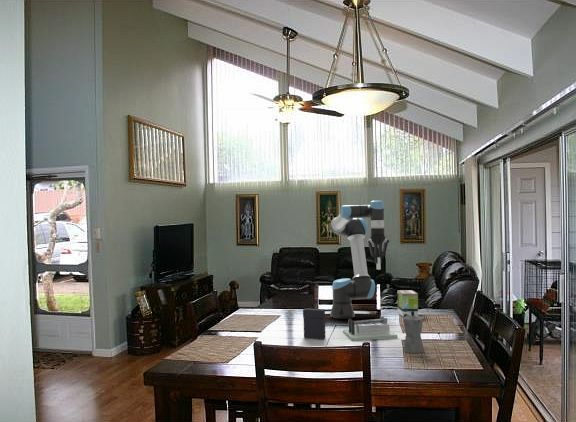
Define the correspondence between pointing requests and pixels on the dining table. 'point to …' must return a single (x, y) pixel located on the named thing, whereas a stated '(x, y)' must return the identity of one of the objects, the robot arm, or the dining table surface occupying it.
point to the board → (369, 336)
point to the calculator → (314, 323)
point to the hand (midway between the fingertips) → (378, 269)
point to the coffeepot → (413, 333)
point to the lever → (368, 321)
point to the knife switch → (369, 328)
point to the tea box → (407, 302)
